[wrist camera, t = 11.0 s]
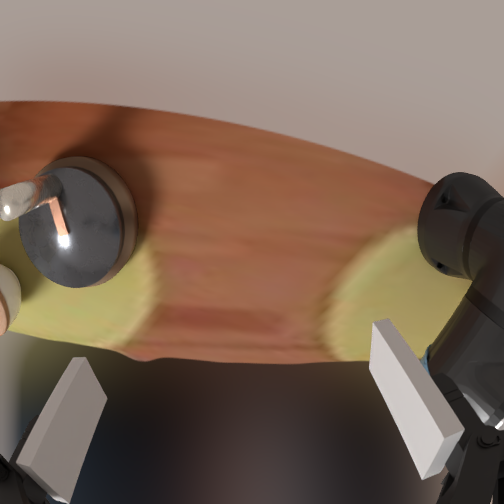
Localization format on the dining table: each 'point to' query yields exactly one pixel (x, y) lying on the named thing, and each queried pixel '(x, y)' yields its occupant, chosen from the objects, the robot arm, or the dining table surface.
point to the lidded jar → (8, 298)
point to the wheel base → (122, 196)
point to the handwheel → (67, 224)
